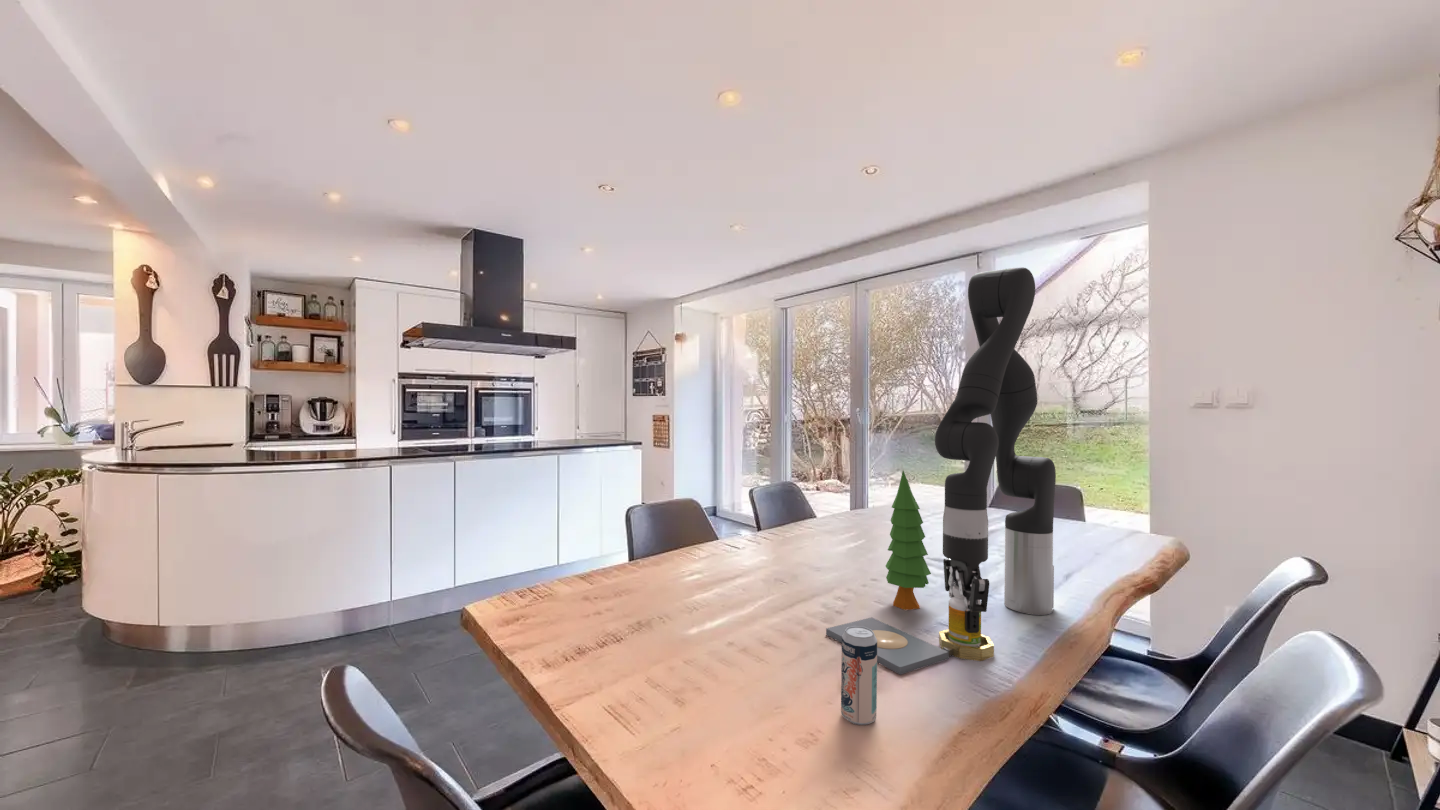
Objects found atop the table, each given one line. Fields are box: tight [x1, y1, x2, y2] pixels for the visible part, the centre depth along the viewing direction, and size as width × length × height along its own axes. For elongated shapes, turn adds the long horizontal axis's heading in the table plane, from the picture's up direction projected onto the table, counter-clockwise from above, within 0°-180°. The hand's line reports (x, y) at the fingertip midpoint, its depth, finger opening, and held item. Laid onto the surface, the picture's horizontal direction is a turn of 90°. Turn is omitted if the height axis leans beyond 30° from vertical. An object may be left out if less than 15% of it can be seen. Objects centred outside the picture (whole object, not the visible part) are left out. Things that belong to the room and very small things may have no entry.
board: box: [825, 616, 950, 676], centre depth 100 cm, size 12×18×1 cm, turn 30°
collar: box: [938, 629, 995, 662], centre depth 99 cm, size 11×9×2 cm
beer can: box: [840, 626, 878, 726], centre depth 77 cm, size 5×5×12 cm
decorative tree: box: [885, 470, 932, 611], centre depth 122 cm, size 10×9×30 cm
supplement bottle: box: [948, 585, 982, 647], centre depth 100 cm, size 5×5×10 cm
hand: (964, 624), depth 100 cm, fingers closed on supplement bottle, 5 cm apart
